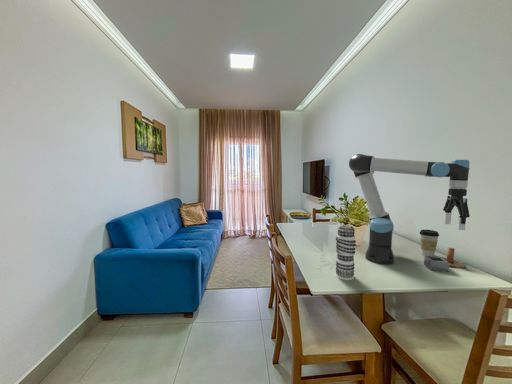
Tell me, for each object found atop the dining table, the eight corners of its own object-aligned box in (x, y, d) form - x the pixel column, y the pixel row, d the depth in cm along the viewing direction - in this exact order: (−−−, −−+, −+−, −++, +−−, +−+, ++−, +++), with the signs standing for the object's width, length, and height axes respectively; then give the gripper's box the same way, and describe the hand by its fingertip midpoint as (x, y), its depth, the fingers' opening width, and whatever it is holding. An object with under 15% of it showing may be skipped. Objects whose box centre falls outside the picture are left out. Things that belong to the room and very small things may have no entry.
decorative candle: (331, 276, 113) (332, 226, 111) (339, 270, 120) (341, 223, 118) (349, 282, 107) (351, 229, 105) (357, 276, 113) (359, 226, 111)
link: (430, 270, 120) (430, 260, 120) (424, 264, 128) (424, 255, 127) (448, 272, 118) (449, 262, 117) (441, 266, 125) (441, 257, 125)
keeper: (443, 266, 125) (444, 250, 124) (435, 259, 135) (436, 244, 134) (465, 268, 122) (467, 252, 121) (456, 261, 132) (457, 246, 131)
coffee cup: (441, 258, 137) (443, 233, 136) (422, 257, 139) (424, 232, 138) (432, 252, 146) (433, 229, 145) (415, 251, 148) (416, 229, 147)
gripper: (481, 190, 112) (477, 233, 114) (453, 187, 136) (449, 222, 138) (463, 189, 114) (459, 231, 116) (438, 186, 138) (434, 221, 140)
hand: (453, 226), depth 127 cm, fingers open, 13 cm apart
